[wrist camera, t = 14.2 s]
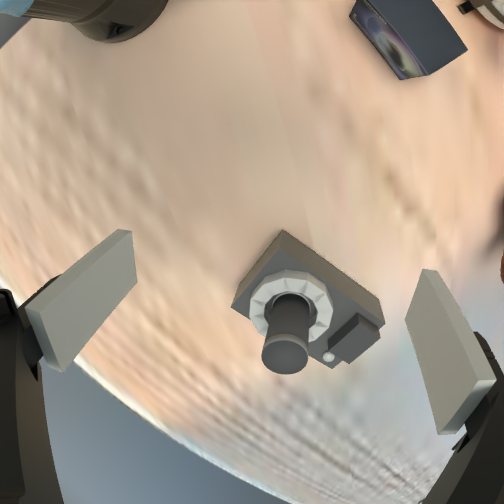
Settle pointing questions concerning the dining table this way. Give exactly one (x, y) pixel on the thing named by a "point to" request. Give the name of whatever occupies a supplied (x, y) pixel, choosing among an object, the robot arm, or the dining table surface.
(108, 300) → the robot arm
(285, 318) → the lens
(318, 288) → the camera body
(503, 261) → the brown clay mug
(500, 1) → the coffee press
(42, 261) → the dining table surface
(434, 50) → the small box
